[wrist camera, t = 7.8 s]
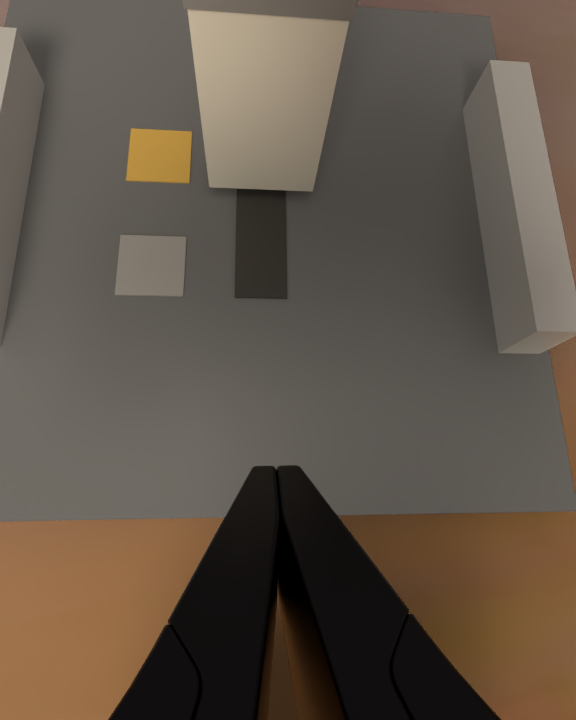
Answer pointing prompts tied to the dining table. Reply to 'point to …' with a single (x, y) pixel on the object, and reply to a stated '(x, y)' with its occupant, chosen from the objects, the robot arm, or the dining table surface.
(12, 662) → the dining table surface
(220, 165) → the beige rectangular block
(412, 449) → the breaker panel
